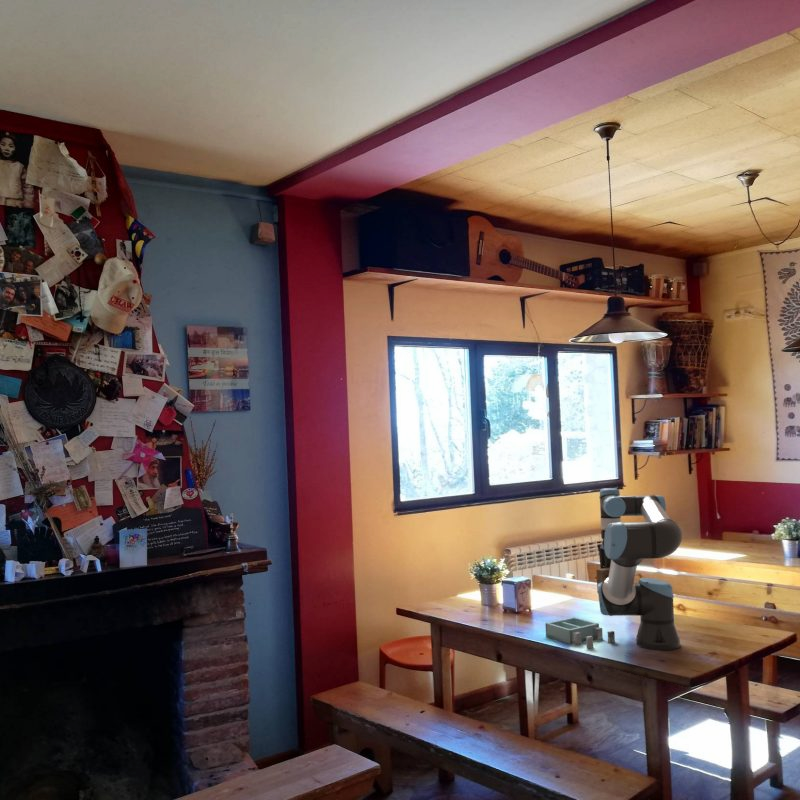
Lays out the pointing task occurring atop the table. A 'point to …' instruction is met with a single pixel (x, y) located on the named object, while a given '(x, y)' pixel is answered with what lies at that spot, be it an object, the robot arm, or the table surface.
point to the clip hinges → (592, 637)
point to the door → (602, 575)
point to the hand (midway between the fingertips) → (613, 590)
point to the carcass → (569, 629)
